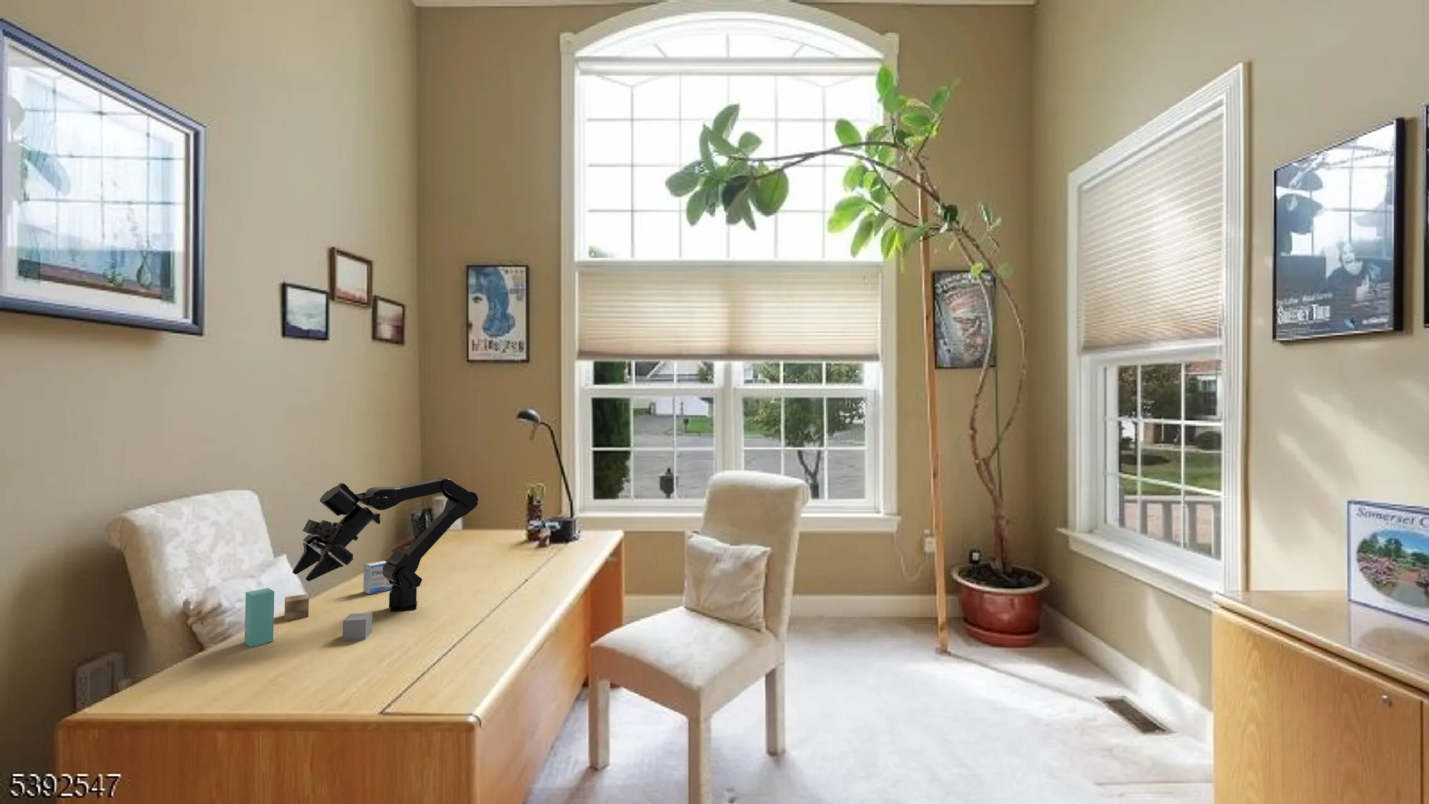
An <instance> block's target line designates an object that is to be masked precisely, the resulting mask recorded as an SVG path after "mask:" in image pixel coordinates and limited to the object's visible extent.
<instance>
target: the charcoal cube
mask: <svg viewBox="0 0 1429 804" xmlns="http://www.w3.org/2000/svg"><path fill="white" fill-rule="evenodd" d="M372 632H373V612H359V613H350V614H349V615H347V616H346V617H345V618H344V619H343V620H342V642H348V641H364V640H365V641H366V640H367V639H368V637H369V636H370V635H371V634H372Z"/></svg>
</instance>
